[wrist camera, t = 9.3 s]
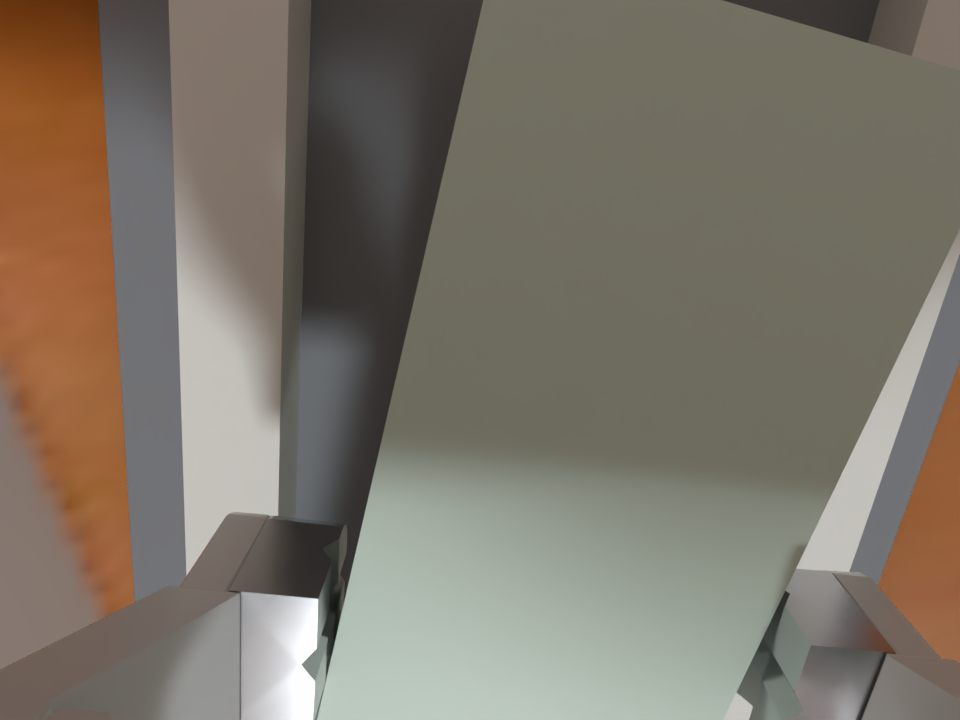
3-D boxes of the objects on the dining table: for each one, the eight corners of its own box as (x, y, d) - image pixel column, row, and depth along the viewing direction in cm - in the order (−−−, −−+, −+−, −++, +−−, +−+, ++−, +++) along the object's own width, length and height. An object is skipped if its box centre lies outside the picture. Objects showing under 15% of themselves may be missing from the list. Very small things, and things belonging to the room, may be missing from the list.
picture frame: (747, 894, 16) (777, 978, 15) (161, 848, 16) (125, 930, 14) (1140, -209, 9) (1279, -280, 8) (95, -363, 9) (8, -473, 7)
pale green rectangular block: (855, 101, 9) (1039, 89, 6) (557, 833, 13) (578, 1033, 10) (493, -2, 9) (499, -71, 6) (307, 786, 13) (255, 980, 10)
